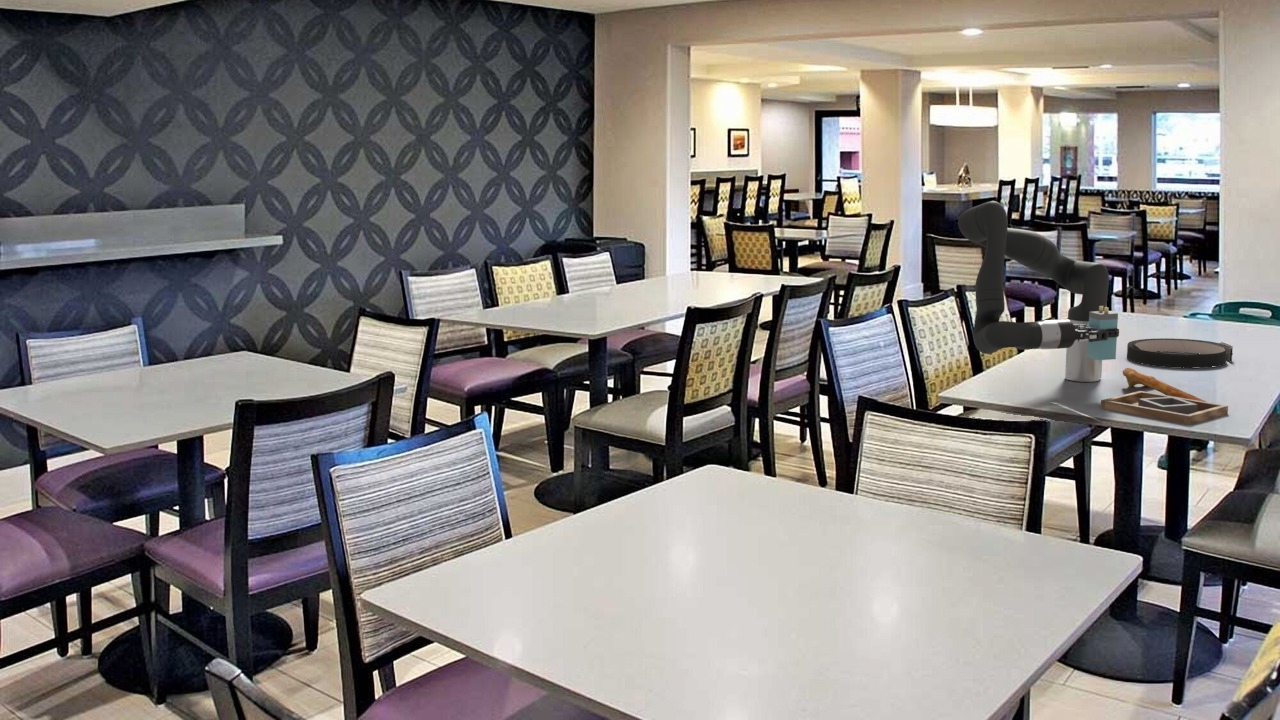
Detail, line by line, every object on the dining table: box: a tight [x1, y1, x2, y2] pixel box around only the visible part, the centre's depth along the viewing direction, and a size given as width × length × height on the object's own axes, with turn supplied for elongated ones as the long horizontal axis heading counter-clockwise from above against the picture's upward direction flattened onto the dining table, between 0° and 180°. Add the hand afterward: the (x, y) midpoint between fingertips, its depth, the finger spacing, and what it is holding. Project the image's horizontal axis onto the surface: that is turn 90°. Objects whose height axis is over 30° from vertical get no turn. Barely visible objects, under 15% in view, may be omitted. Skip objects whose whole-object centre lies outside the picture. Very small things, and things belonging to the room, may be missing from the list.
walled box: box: [1100, 390, 1229, 426], centre depth 282 cm, size 17×23×2 cm
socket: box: [1138, 397, 1198, 415], centre depth 281 cm, size 10×10×2 cm
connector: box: [1087, 306, 1119, 361], centre depth 297 cm, size 5×5×14 cm
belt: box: [1126, 338, 1234, 369], centre depth 350 cm, size 29×30×5 cm
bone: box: [1122, 367, 1207, 402], centre depth 299 cm, size 33×8×10 cm, turn 3°
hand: (1111, 330), depth 298 cm, fingers closed on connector, 5 cm apart
